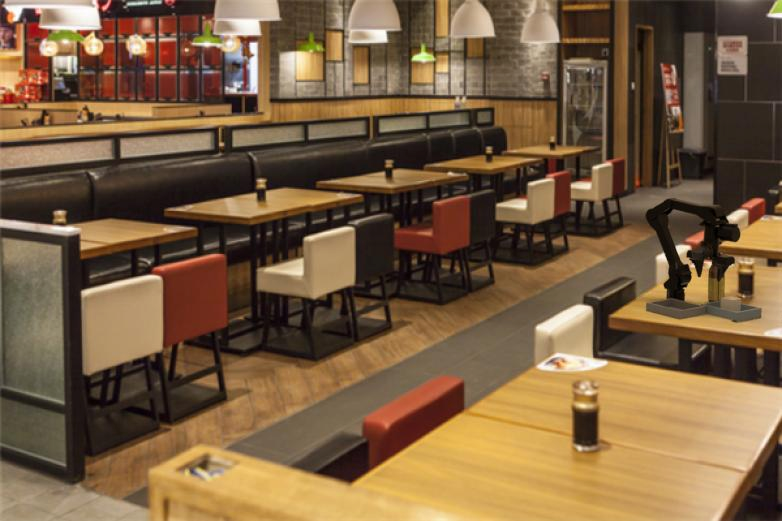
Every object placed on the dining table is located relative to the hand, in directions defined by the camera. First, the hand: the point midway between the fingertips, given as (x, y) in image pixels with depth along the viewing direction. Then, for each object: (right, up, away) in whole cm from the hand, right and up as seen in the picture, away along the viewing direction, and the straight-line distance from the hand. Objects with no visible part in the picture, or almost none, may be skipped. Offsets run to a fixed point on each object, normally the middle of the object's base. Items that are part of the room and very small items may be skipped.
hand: (708, 279), depth 382 cm
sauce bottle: (+7, -10, +14) cm, 18 cm away
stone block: (+6, -13, -7) cm, 16 cm away
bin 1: (-14, -13, -4) cm, 19 cm away
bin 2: (+6, -13, -7) cm, 16 cm away
